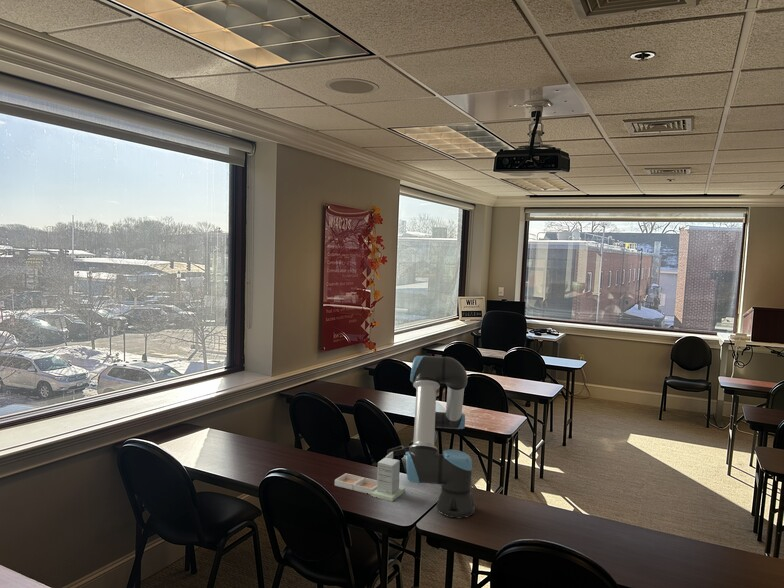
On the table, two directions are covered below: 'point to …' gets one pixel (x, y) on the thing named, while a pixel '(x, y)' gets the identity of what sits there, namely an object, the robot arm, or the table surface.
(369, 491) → the track
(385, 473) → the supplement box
